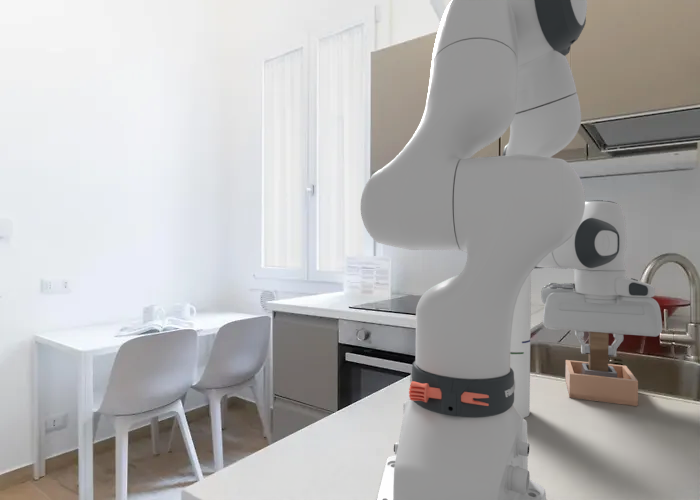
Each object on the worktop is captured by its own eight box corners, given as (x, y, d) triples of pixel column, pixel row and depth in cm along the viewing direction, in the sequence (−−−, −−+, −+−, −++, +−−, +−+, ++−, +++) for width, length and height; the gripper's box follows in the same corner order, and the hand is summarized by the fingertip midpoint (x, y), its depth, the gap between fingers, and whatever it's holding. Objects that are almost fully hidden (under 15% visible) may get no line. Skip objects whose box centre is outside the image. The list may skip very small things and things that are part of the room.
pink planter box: (637, 406, 79) (638, 379, 78) (569, 397, 83) (569, 372, 83) (625, 387, 89) (626, 364, 89) (565, 381, 93) (565, 358, 93)
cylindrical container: (538, 413, 75) (540, 267, 75) (511, 421, 71) (512, 268, 71) (504, 400, 81) (505, 265, 81) (477, 407, 77) (478, 266, 77)
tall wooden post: (607, 381, 84) (608, 318, 84) (590, 379, 85) (591, 317, 85) (605, 376, 87) (606, 316, 87) (588, 374, 88) (589, 315, 88)
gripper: (541, 283, 87) (540, 353, 87) (665, 288, 79) (664, 364, 79) (541, 281, 93) (540, 346, 93) (656, 285, 85) (655, 356, 85)
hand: (598, 354), depth 86 cm, fingers closed on tall wooden post, 3 cm apart
